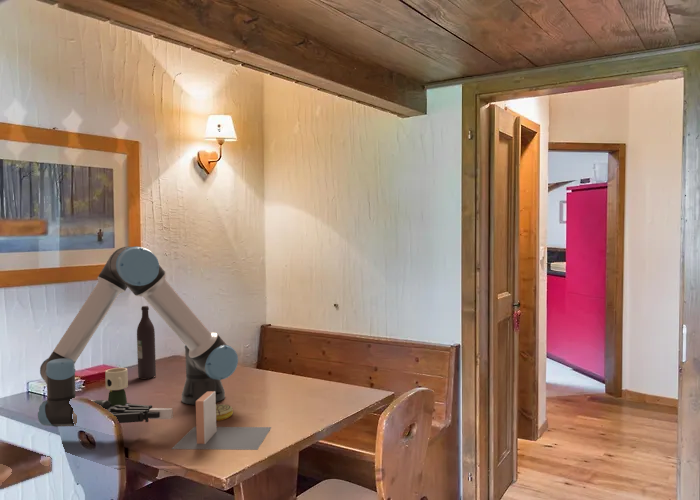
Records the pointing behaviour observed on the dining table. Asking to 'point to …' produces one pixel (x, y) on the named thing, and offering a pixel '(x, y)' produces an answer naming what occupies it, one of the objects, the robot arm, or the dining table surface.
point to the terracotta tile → (206, 417)
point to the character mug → (116, 385)
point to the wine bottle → (146, 346)
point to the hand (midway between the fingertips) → (171, 413)
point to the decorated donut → (223, 412)
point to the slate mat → (227, 439)
